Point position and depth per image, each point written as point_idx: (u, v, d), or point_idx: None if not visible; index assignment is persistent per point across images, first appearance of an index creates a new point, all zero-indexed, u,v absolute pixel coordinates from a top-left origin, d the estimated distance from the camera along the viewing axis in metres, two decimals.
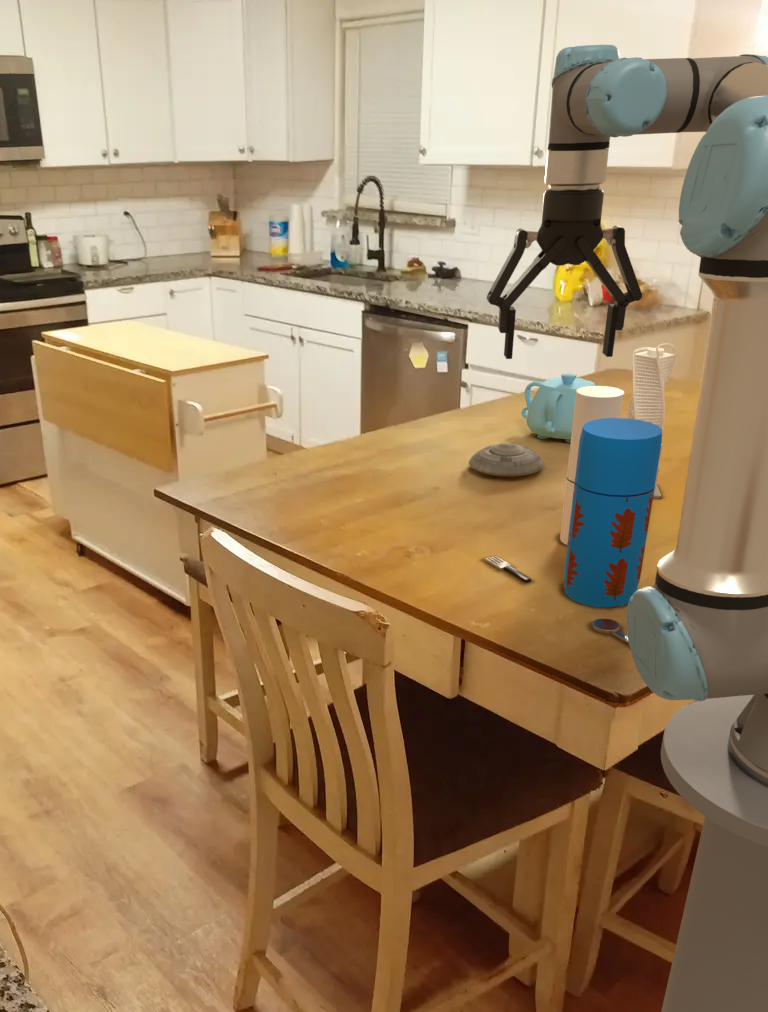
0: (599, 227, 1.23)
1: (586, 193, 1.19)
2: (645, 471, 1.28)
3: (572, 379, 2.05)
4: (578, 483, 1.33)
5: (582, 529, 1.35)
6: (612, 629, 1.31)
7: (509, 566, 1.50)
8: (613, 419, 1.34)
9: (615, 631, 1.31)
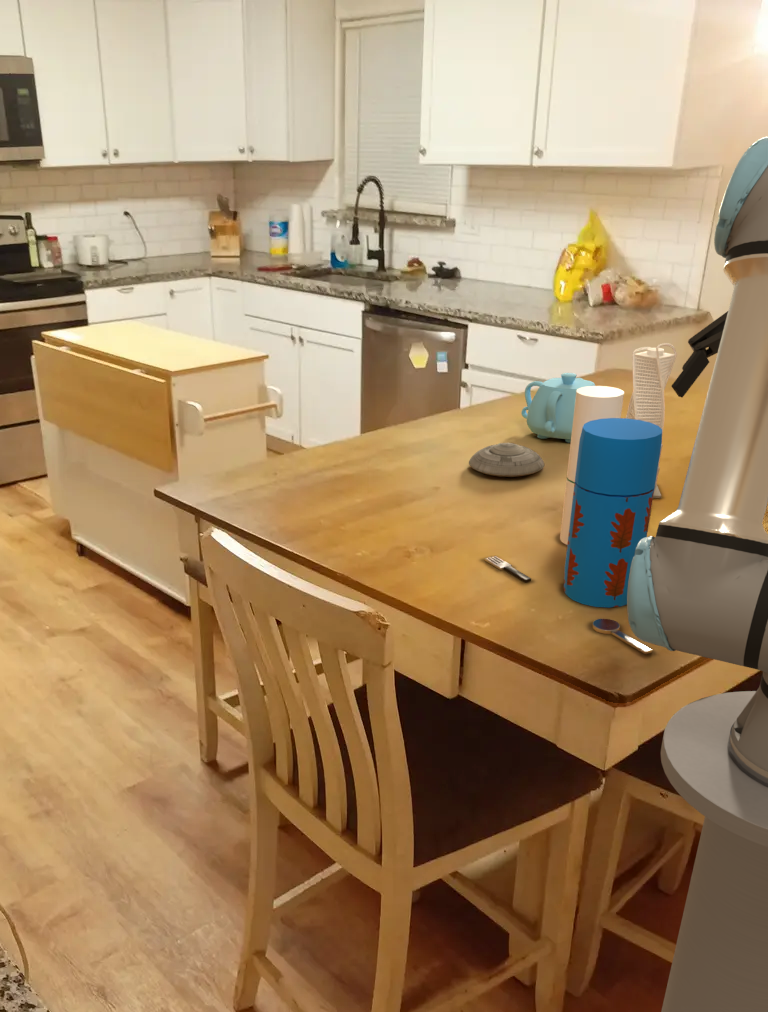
0: None
1: None
2: (645, 471, 1.28)
3: (572, 379, 2.05)
4: (578, 483, 1.33)
5: (582, 529, 1.35)
6: (612, 629, 1.31)
7: (509, 566, 1.50)
8: (613, 419, 1.34)
9: (615, 631, 1.31)
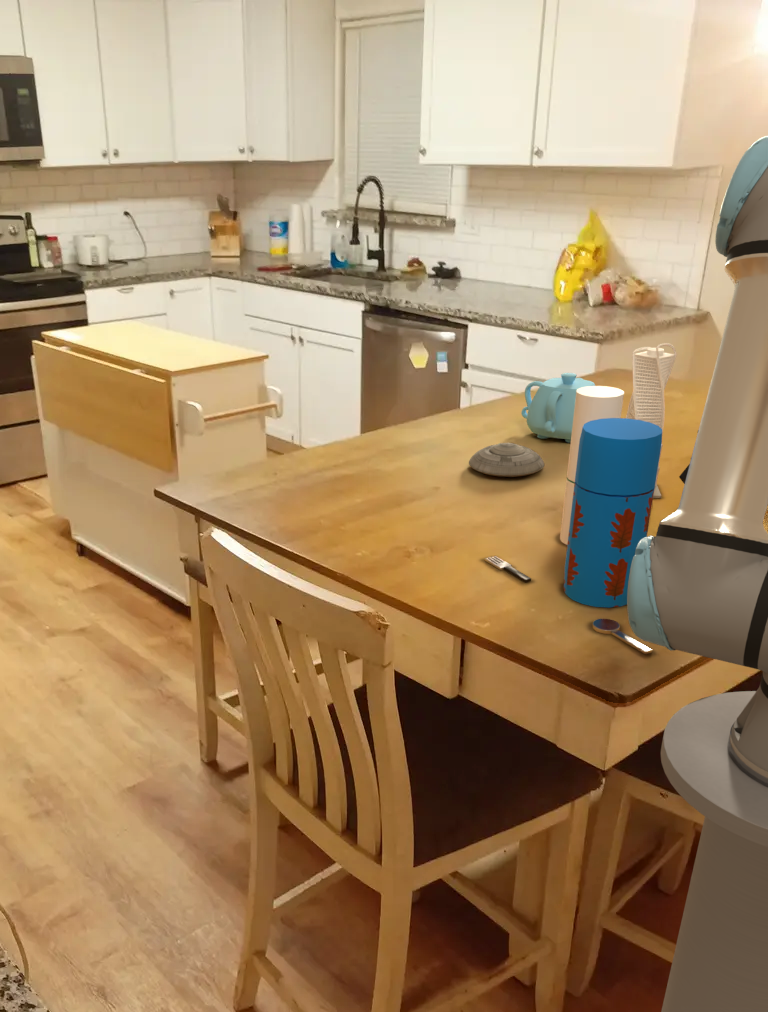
0: None
1: None
2: (645, 471, 1.28)
3: (572, 379, 2.05)
4: (578, 483, 1.33)
5: (582, 529, 1.35)
6: (612, 629, 1.31)
7: (509, 566, 1.50)
8: (613, 419, 1.34)
9: (615, 631, 1.31)
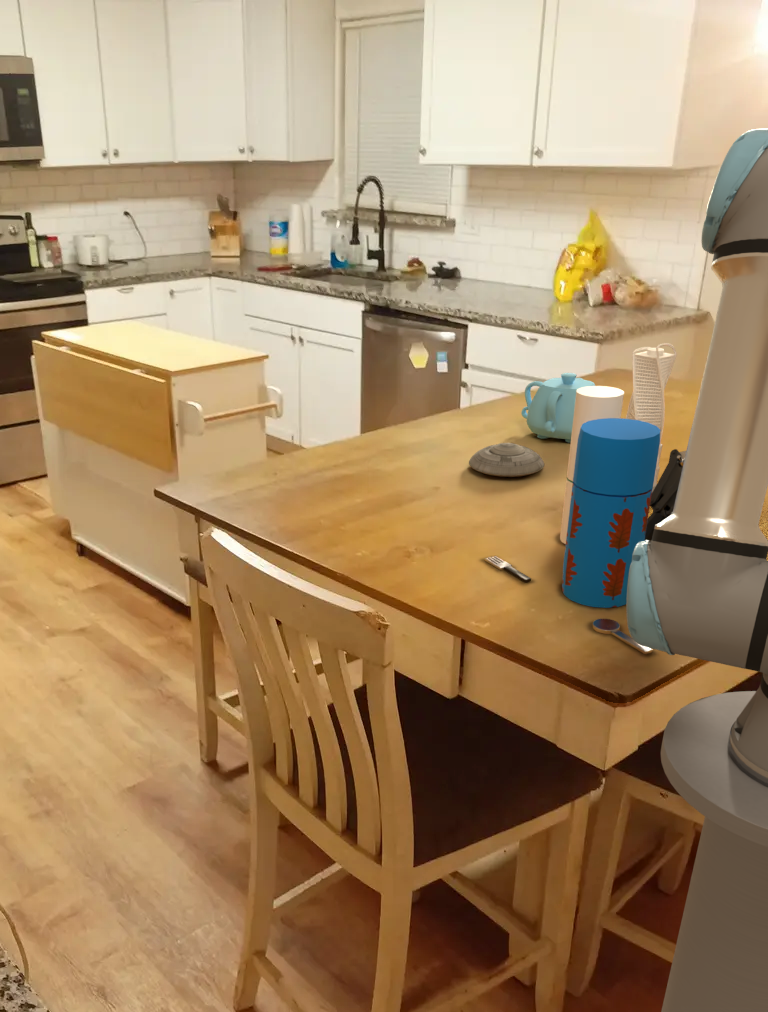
0: None
1: None
2: (644, 471, 1.28)
3: (572, 379, 2.05)
4: (576, 483, 1.33)
5: (580, 529, 1.35)
6: (612, 629, 1.31)
7: (509, 566, 1.50)
8: (611, 419, 1.34)
9: (615, 631, 1.31)
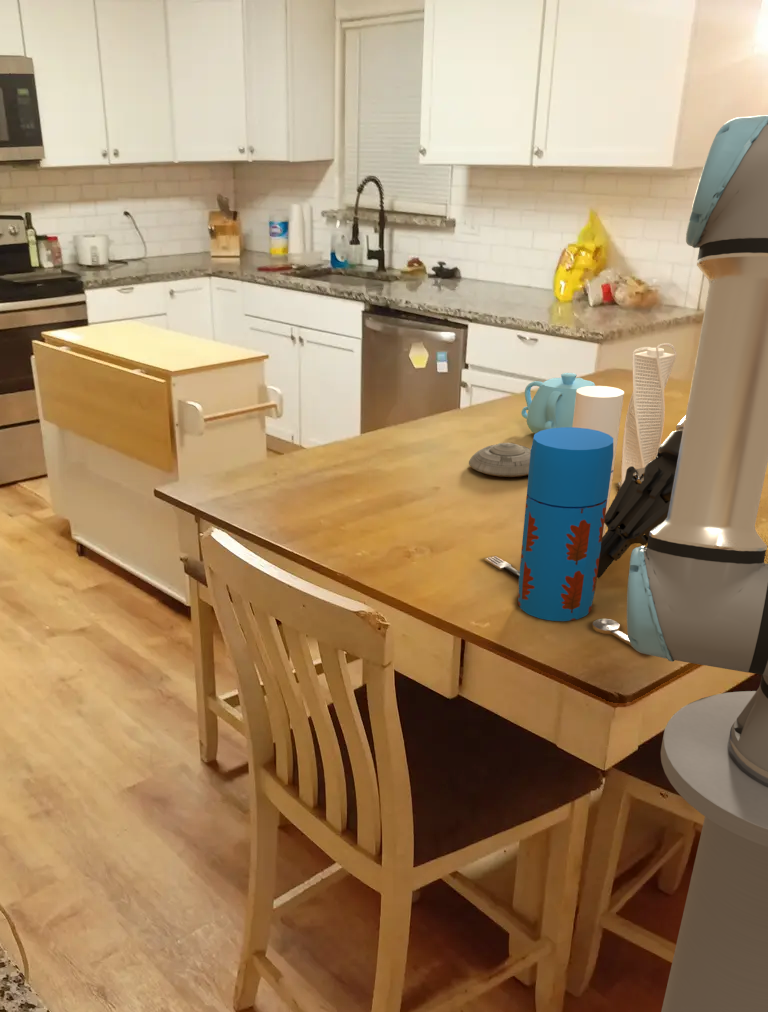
0: None
1: None
2: (599, 481, 1.25)
3: (572, 379, 2.05)
4: (531, 495, 1.30)
5: (537, 542, 1.31)
6: (612, 629, 1.31)
7: (509, 566, 1.50)
8: (562, 428, 1.31)
9: (615, 631, 1.31)
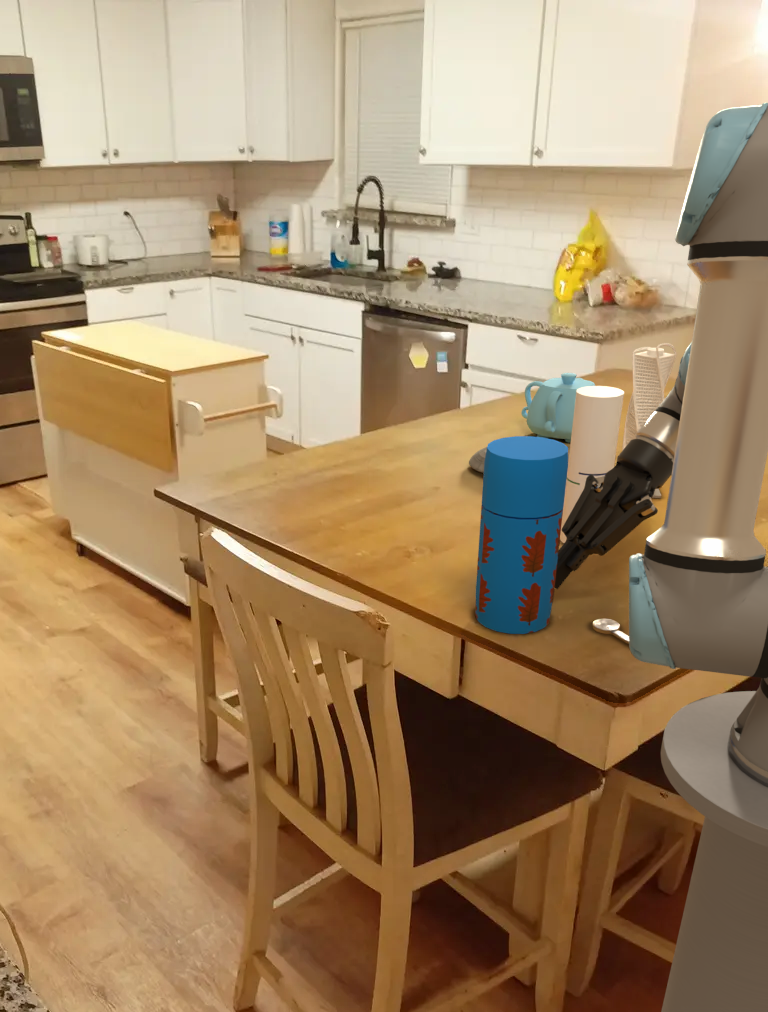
0: (648, 482, 1.32)
1: (646, 443, 1.32)
2: (554, 492, 1.23)
3: (572, 379, 2.05)
4: (486, 506, 1.27)
5: (492, 554, 1.28)
6: (612, 629, 1.31)
7: None
8: (517, 437, 1.28)
9: (615, 631, 1.31)
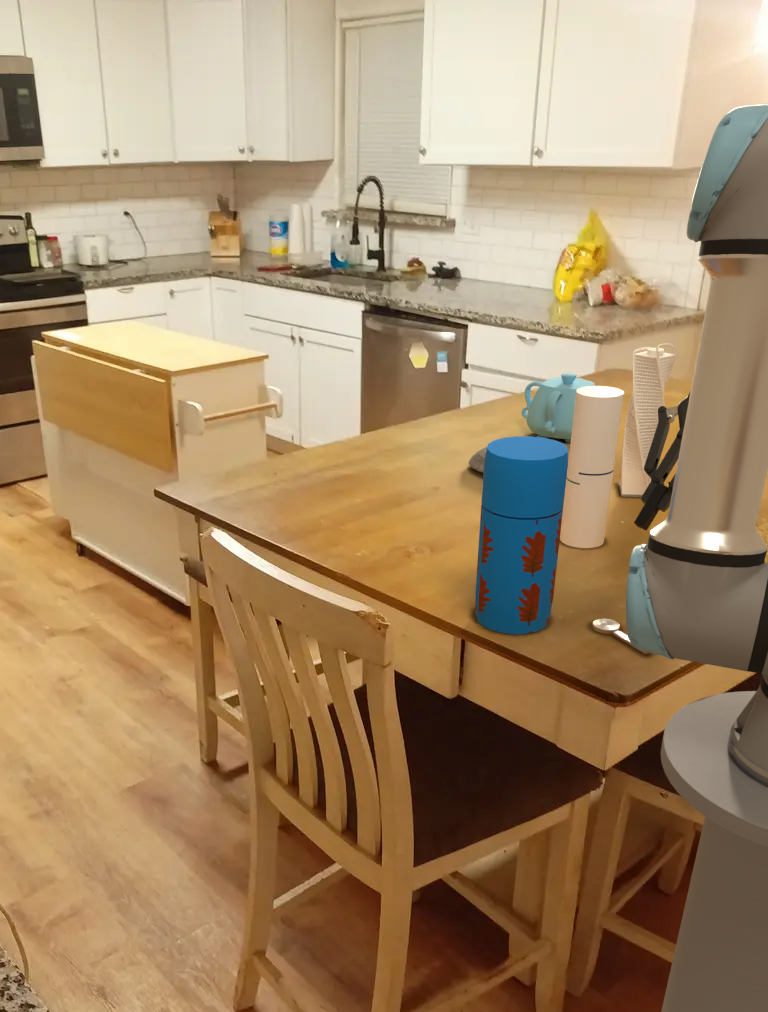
0: None
1: None
2: (554, 492, 1.23)
3: (572, 379, 2.05)
4: (485, 506, 1.27)
5: (492, 554, 1.28)
6: (612, 629, 1.31)
7: None
8: (517, 438, 1.28)
9: (615, 631, 1.31)
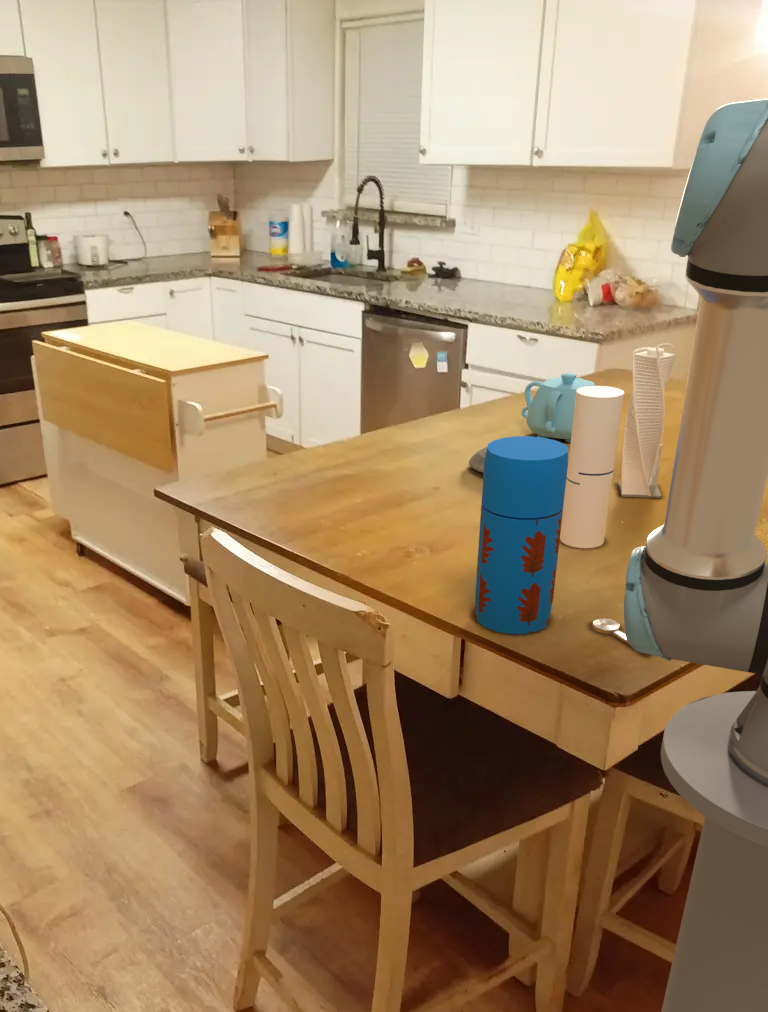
0: None
1: None
2: (554, 492, 1.23)
3: (572, 379, 2.05)
4: (485, 506, 1.27)
5: (492, 554, 1.28)
6: (612, 629, 1.31)
7: None
8: (517, 438, 1.28)
9: (615, 631, 1.31)
